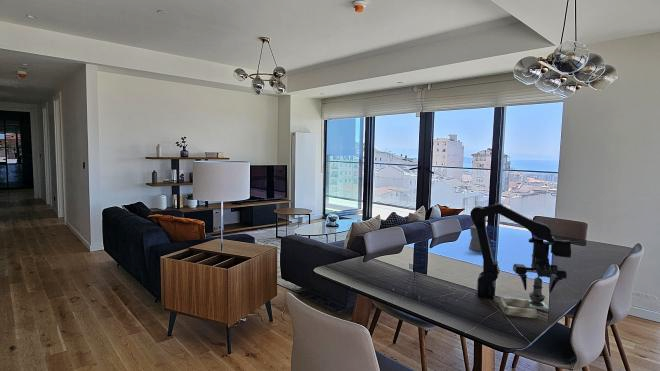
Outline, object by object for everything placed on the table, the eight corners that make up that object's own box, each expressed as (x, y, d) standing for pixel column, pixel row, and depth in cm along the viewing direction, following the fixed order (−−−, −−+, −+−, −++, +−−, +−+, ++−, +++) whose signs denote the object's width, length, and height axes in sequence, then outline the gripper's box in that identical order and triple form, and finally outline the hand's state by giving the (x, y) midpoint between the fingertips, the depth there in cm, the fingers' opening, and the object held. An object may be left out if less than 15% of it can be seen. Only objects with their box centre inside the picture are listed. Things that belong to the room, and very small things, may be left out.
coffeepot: (475, 252, 240) (476, 224, 238) (463, 248, 248) (465, 221, 247) (491, 249, 247) (493, 223, 245) (479, 246, 255) (481, 220, 254)
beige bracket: (504, 314, 144) (504, 306, 144) (498, 303, 155) (498, 296, 155) (536, 318, 142) (537, 310, 141) (528, 306, 153) (528, 299, 152)
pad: (529, 307, 152) (529, 306, 152) (525, 301, 159) (525, 299, 159) (548, 309, 150) (548, 308, 150) (543, 303, 157) (543, 301, 157)
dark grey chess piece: (539, 301, 157) (541, 273, 156) (547, 306, 152) (550, 278, 151) (525, 300, 157) (527, 273, 156) (533, 306, 151) (535, 277, 150)
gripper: (520, 257, 147) (517, 295, 148) (573, 261, 143) (570, 301, 144) (513, 250, 158) (511, 286, 159) (563, 254, 153) (560, 291, 155)
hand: (537, 291), depth 154 cm, fingers open, 9 cm apart
